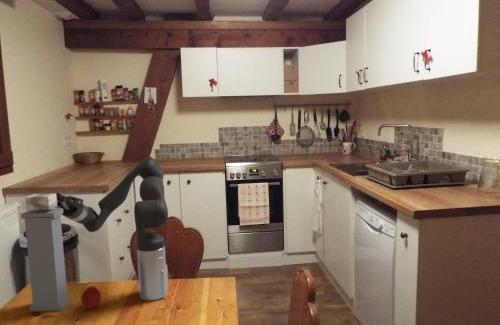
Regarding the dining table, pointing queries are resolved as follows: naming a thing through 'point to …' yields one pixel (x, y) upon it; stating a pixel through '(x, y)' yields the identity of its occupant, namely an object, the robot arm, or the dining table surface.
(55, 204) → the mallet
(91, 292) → the onion
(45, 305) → the stand
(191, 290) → the dining table surface
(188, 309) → the dining table surface
